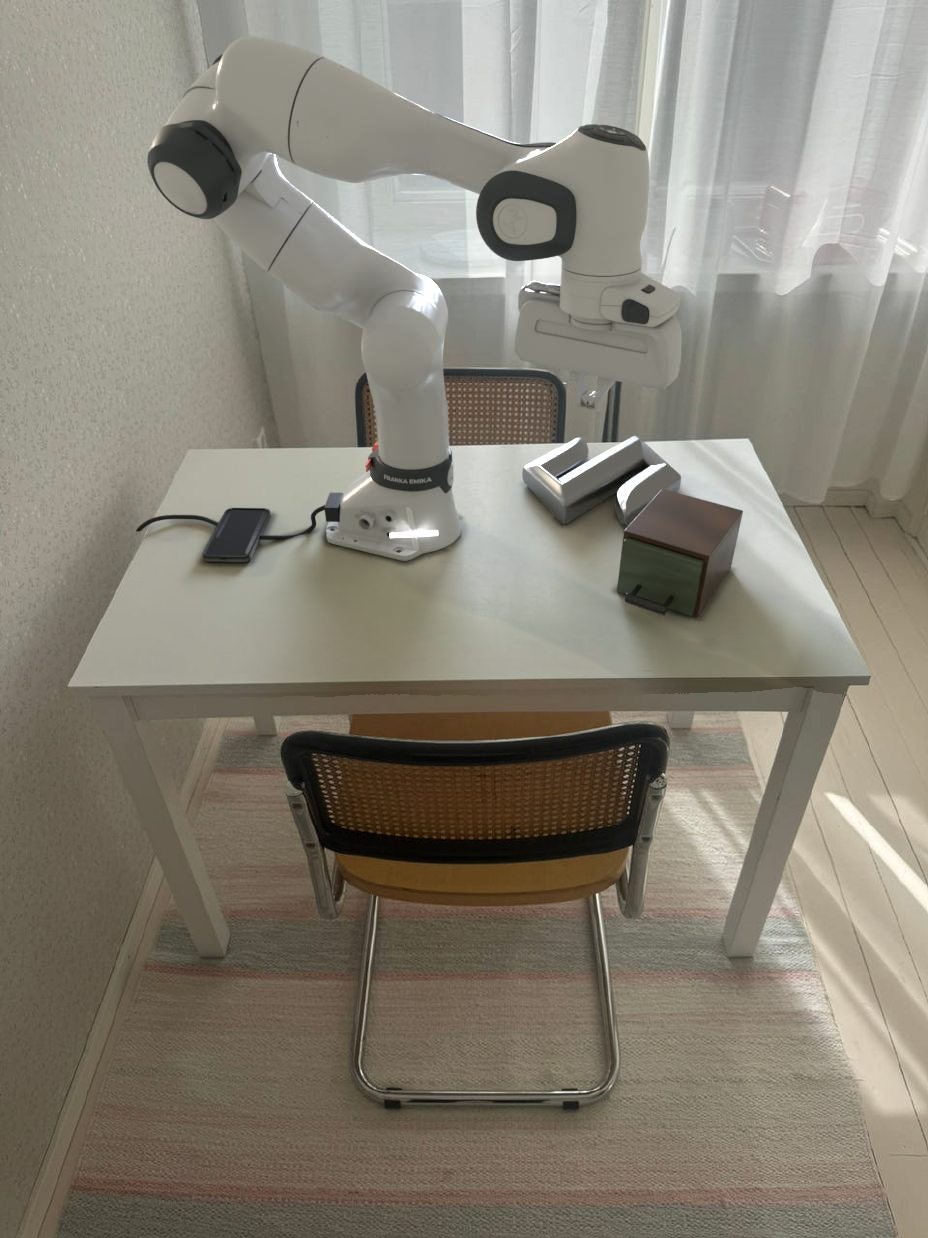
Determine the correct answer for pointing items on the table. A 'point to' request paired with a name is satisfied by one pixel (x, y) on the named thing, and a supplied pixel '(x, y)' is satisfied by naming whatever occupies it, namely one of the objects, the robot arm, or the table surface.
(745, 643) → the table surface
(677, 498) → the cabinet
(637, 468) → the emblem
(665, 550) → the green drawer
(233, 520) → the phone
